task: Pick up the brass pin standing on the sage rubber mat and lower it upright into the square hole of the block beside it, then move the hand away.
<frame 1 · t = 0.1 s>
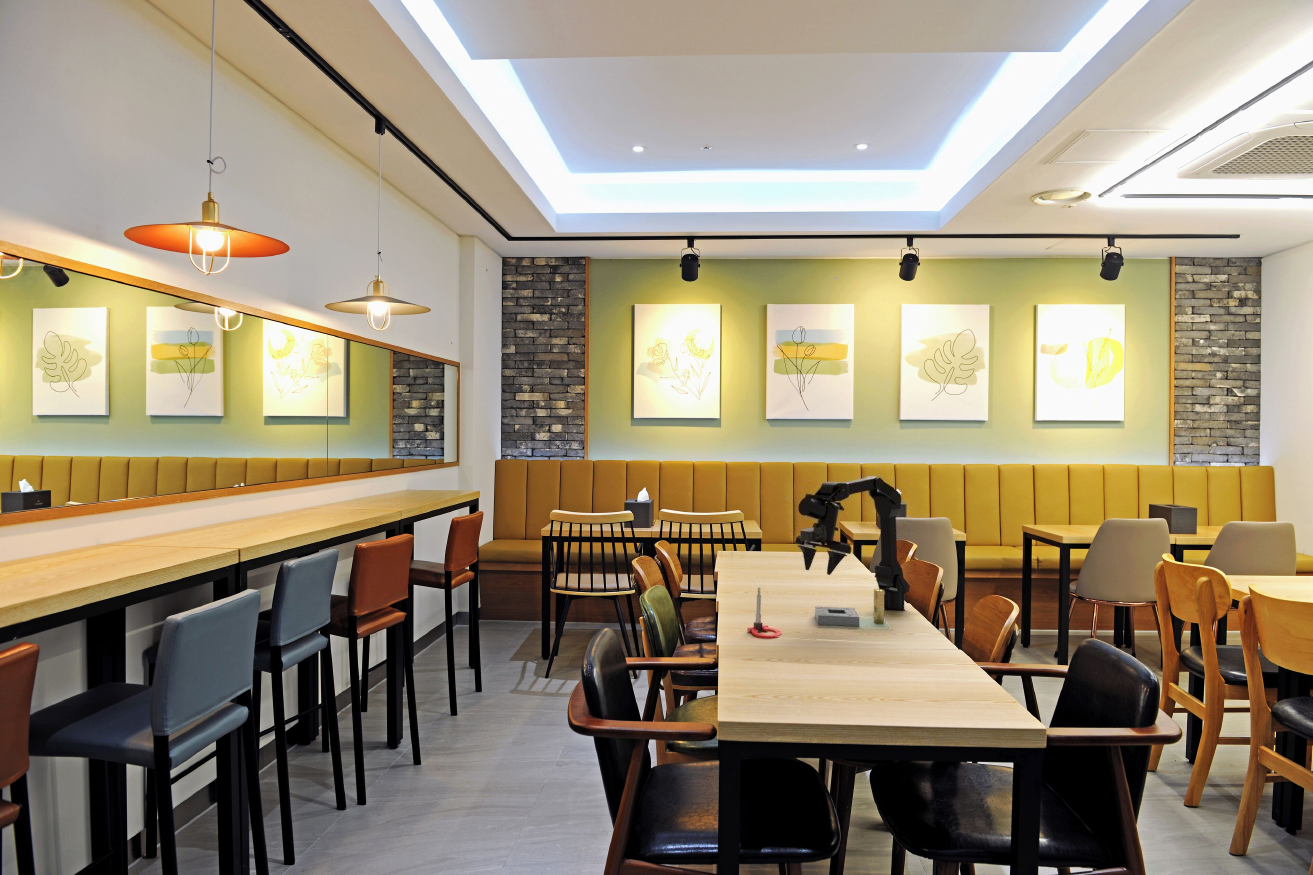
hand: (817, 572, 223), 15 cm above the table, tool pointing down, fingers open, 9 cm apart
mat: (851, 623, 223), on the table
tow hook: (765, 635, 210), on the table
block: (836, 621, 224), resting on mat
pin: (878, 622, 222), resting on mat
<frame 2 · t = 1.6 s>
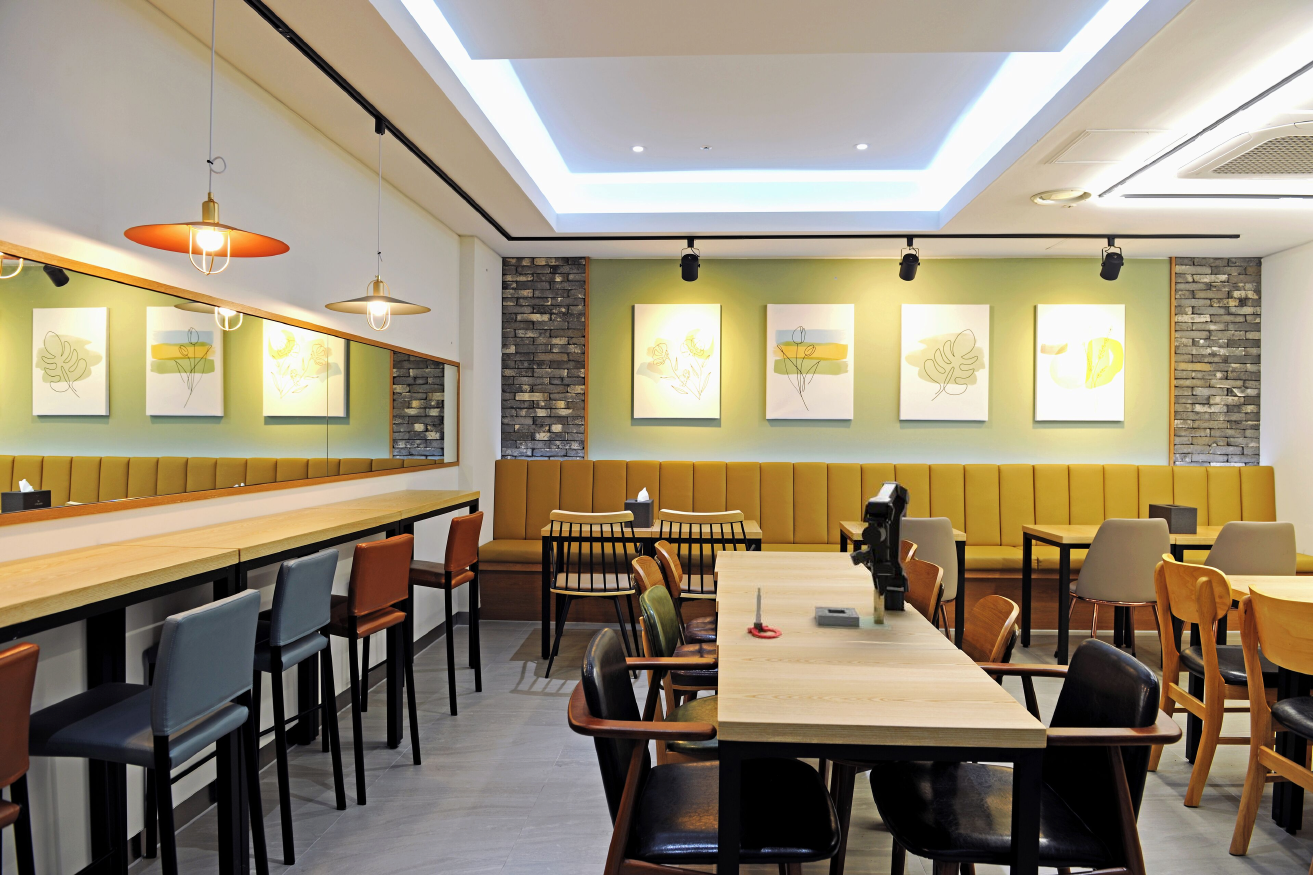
hand: (878, 592, 222), 10 cm above the table, tool pointing down, fingers open, 9 cm apart
nothing on the table moved.
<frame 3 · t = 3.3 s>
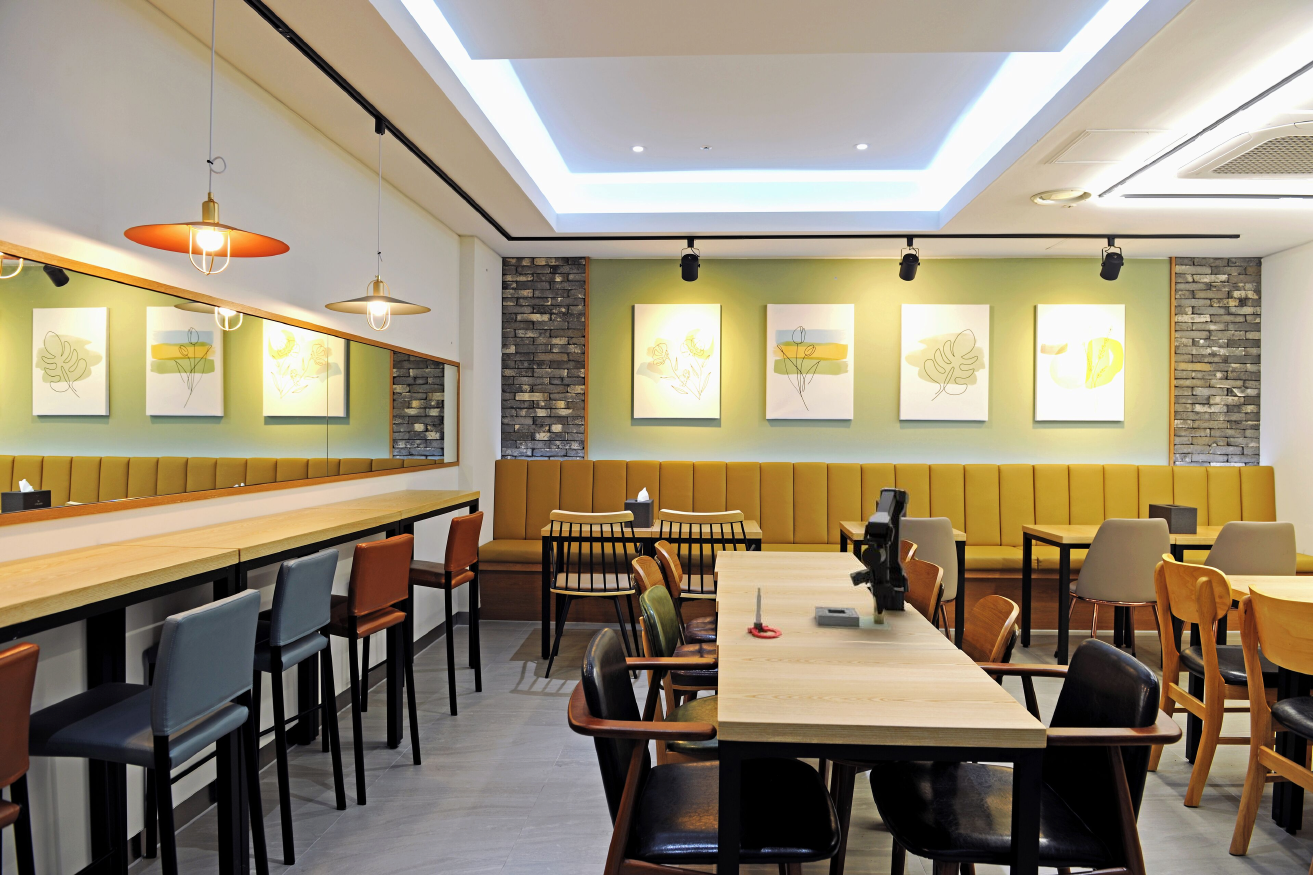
hand: (878, 612, 222), 3 cm above the table, tool pointing down, fingers closed on pin, 3 cm apart
pin: (878, 622, 222), resting on mat, touching gripper
everything else where it was.
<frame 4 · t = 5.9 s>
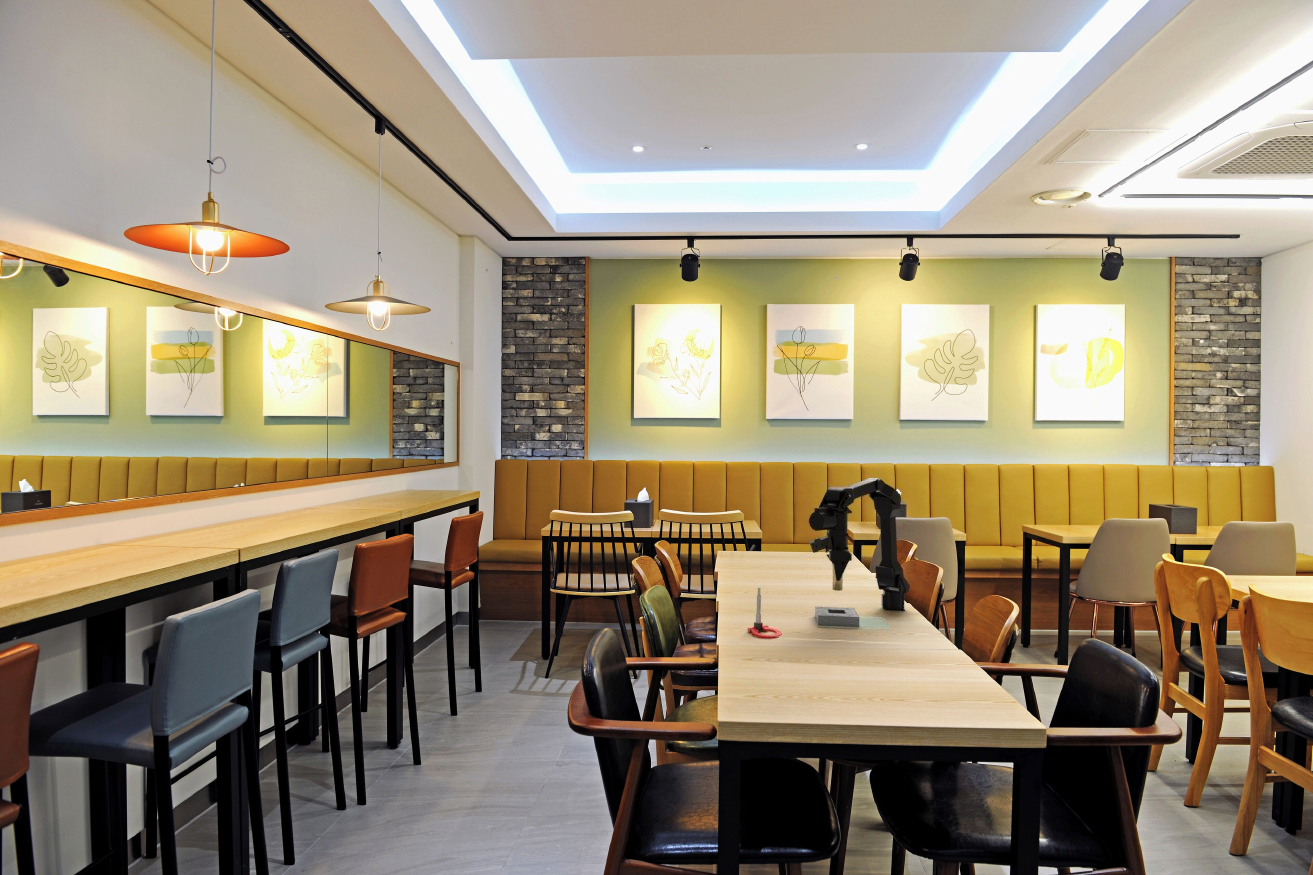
hand: (837, 579, 224), 13 cm above the table, tool pointing down, fingers closed on pin, 3 cm apart
pin: (837, 589, 224), point 10 cm above the table, touching gripper
everything else where it was.
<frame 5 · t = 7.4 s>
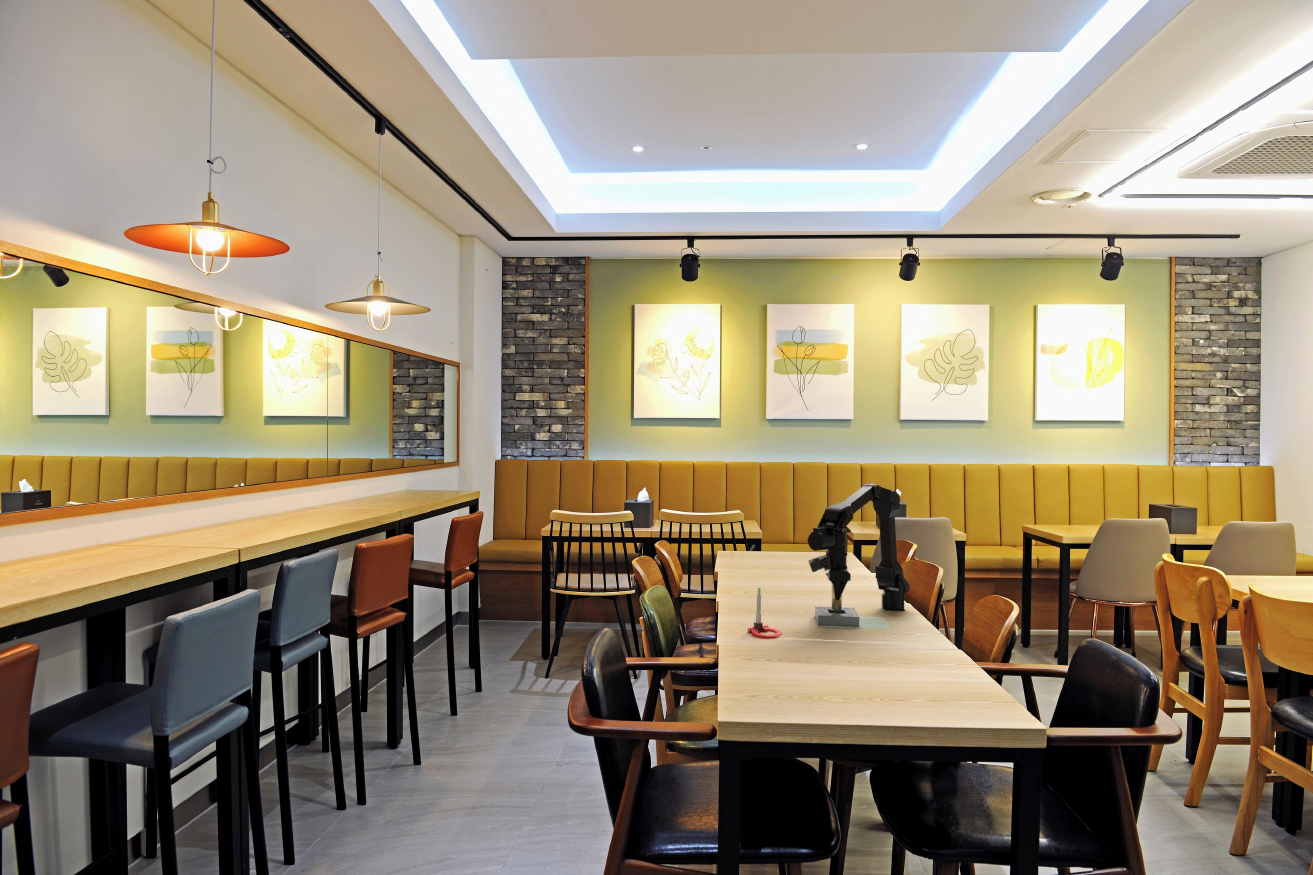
hand: (836, 598, 224), 7 cm above the table, tool pointing down, fingers closed on pin, 3 cm apart
pin: (836, 608, 224), point 4 cm above the table, touching gripper
everything else where it was.
when the fingers open (4 cm above the table, at t = 8.6 s): pin stays where it is, resting on mat.
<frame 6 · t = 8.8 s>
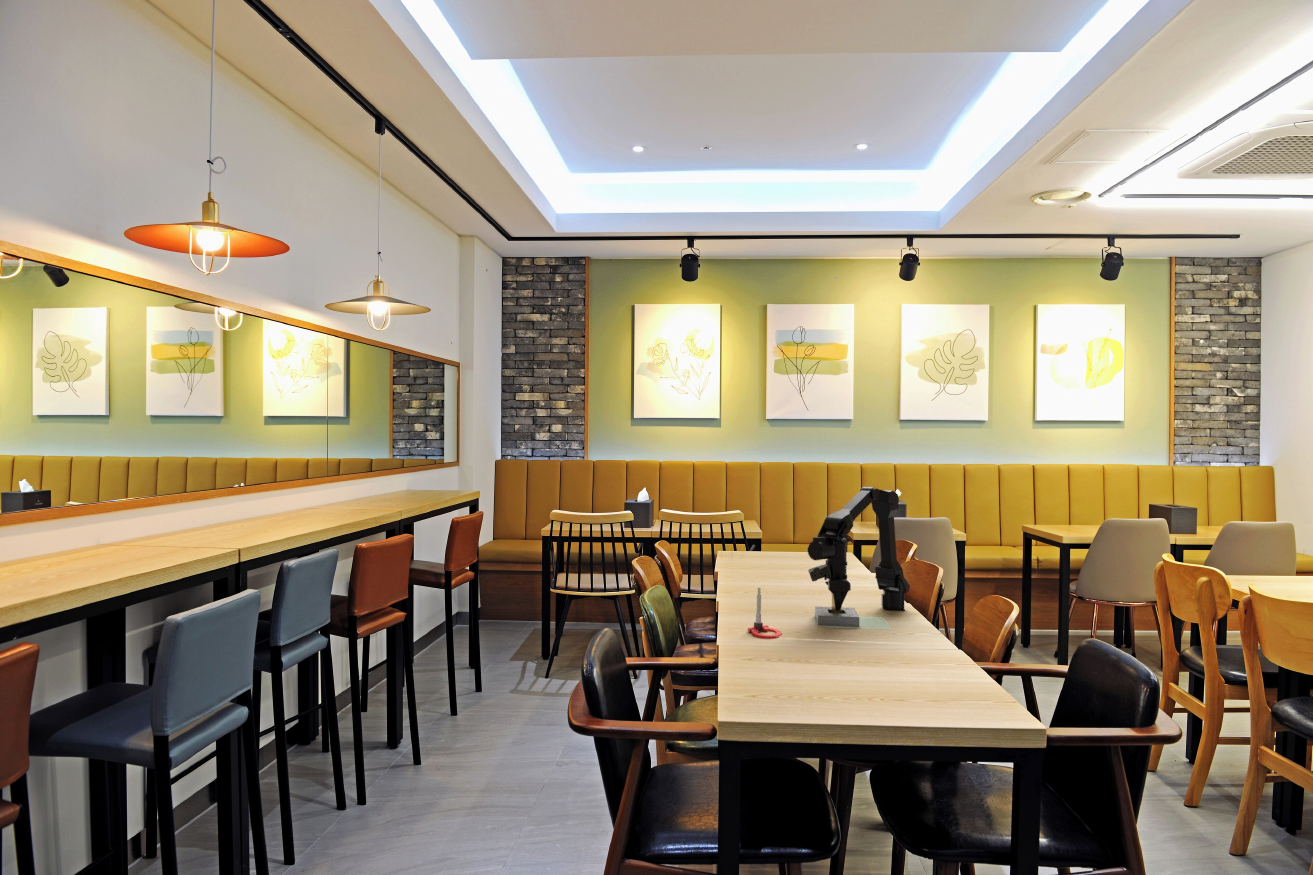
hand: (836, 608, 224), 4 cm above the table, tool pointing down, fingers open, 5 cm apart
pin: (836, 621, 224), resting on mat
everything else where it was.
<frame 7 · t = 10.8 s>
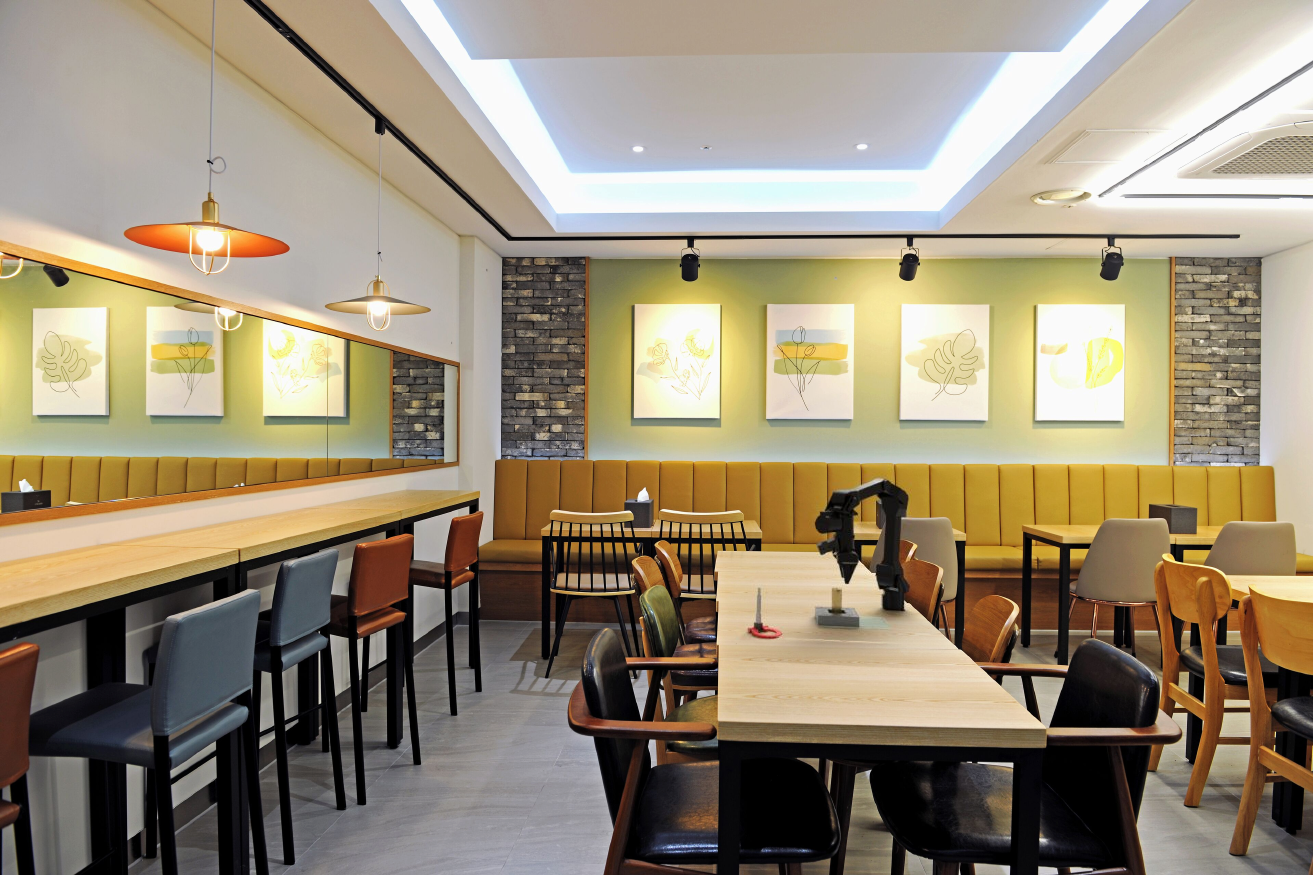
hand: (845, 580, 228), 12 cm above the table, tool pointing down, fingers open, 9 cm apart
nothing on the table moved.
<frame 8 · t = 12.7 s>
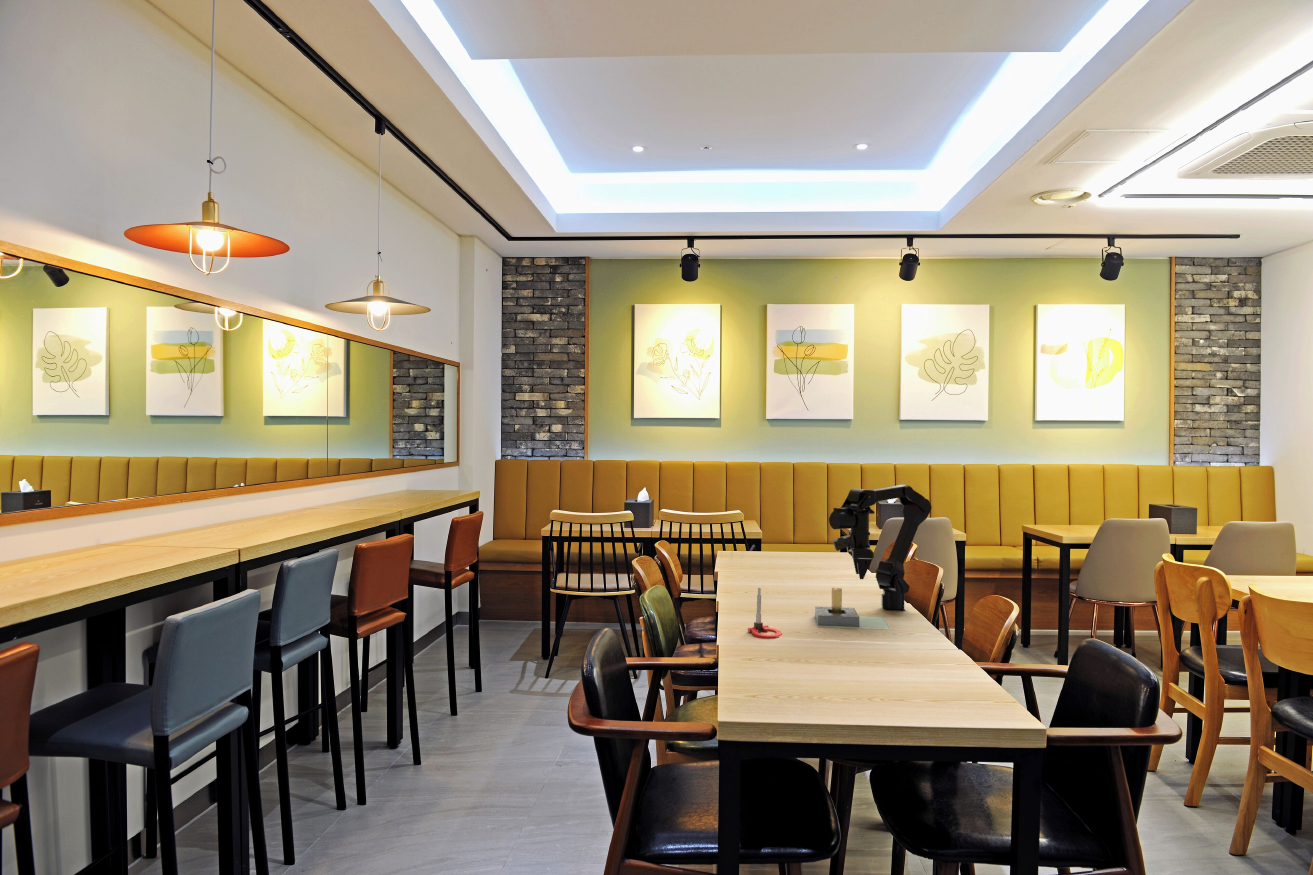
hand: (859, 576, 235), 12 cm above the table, tool pointing down, fingers open, 9 cm apart
nothing on the table moved.
at the end: pin 0.0 cm off-centre on the block, point 0.0 cm above the block's base; pin tilted 0°; the gripper is holding nothing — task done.
